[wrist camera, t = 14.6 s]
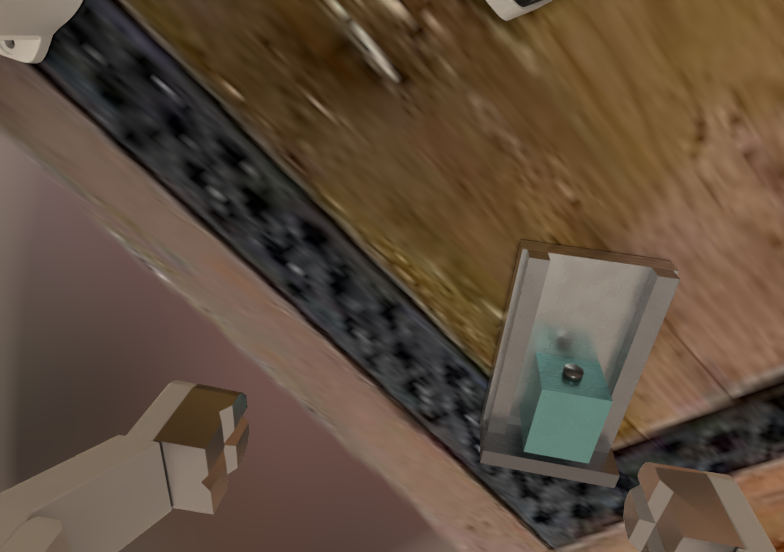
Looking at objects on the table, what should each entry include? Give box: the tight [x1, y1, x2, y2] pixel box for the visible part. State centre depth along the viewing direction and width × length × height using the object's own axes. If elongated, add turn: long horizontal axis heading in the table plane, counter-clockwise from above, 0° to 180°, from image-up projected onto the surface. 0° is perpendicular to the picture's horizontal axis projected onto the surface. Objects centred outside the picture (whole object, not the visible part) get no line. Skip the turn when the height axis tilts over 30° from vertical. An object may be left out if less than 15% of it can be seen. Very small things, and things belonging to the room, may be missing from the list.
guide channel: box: [480, 239, 680, 488], centre depth 43 cm, size 12×20×6 cm, turn 175°
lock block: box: [520, 353, 613, 464], centre depth 43 cm, size 6×8×5 cm
